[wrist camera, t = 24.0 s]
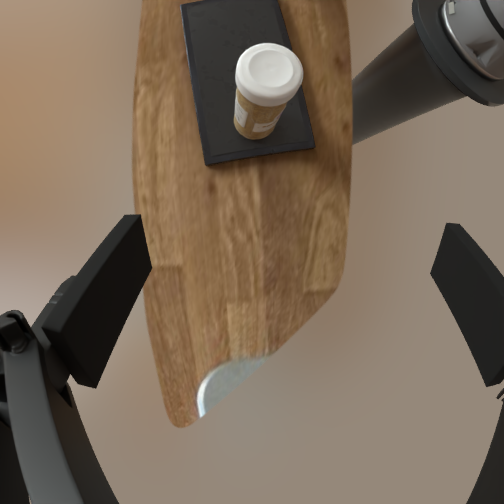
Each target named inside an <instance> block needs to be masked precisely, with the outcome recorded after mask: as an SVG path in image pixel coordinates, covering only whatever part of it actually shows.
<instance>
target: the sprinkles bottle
mask: <svg viewBox="0 0 504 504" xmlns="http://www.w3.org/2000/svg"><path fill="white" fill-rule="evenodd" d="M235 80H236V85H237V89H236V99H235V115H234V124H235V127H236V129H237V131H238V132H239V133H240V134H241V135H243V136H244V137H246V138H248V139H254V140H255V139H262V138H265V137H267V136H268V135H269V134H270V133H271V132H272V131H273V130H274V128H275V125H276V123H277V121H278V120H279V118H280V116H281V114H282V112H283V110H284V109H285V107H286V104H287V102H288V101H289V100H290V99H291V98H292V97H293V96H294V95H295V94H296V92H297V91H298V89H299V87H300V85H301V83H302V80H303V68H302V64H301V62H300V60H299V59H298V57H297V56H296V55H295V54H294V53H293V52H292V51H290V50H289V49H287V48H286V47H284V46H281V45H278V44H272V43H263V44H258V45H255V46H252V47H250V48H249V49H247V50H246V51H245V52H244V53H243V54H242V55H241V56H240V58H239V60H238V63H237V66H236V74H235Z"/></svg>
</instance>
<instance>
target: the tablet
mask: <svg viewBox="0 0 504 504" xmlns="http://www.w3.org/2000/svg"><path fill="white" fill-rule="evenodd" d="M180 8H181V16H182V23H183V30H184V37H185V44H186V51H187V58H188V64H189V71H190V77H191V84H192V90H193V96H194V102H195V108H196V114H197V120H198V126H199V132H200V138H201V144H202V150H203V155H204V161H205V165H206V166H209V165H214V164H220V163H225V162H230V161H236V160H241V159H247V158H253V157H259V156H265V155H272V154H279V153H285V152H292V151H300V150H308V149H314V148H315V143H314V138H313V133H312V128H311V124H310V119H309V115H308V110H307V106H306V102H305V98H304V93H303V89H302V85H300V87H299V89H298V91H297V92H296V94H295V95H294V96H293V97H292V98H291V99H290V100H289V101H288V102H287V104H286V107H285V109H284V110H283V112H282V114H281V116H280V118H279V120H278V121H277V123H276V125H275V128H274V130H273V131H272V132H271V133H270V134H269V135H268V136H267V137H265V138H262V139H255V140H254V139H248V138H246V137H244V136H243V135H241V134H240V133H239V132H238V131H237V129H236V127H235V124H234V115H235V99H236V89H237V85H236V80H235V74H236V66H237V63H238V60H239V58H240V56H241V55H242V54H243V53H244V52H245V51H246V50H247V49H249V48H250V47H252V46H255V45H258V44H263V43H272V44H278V45H281V46H284V47H286V48H287V49H289V50H290V51H292V47H291V44H290V40H289V37H288V33H287V30H286V27H285V23H284V20H283V17H282V13H281V10H280V7H279V4H278V1H277V0H203V1H197V2H192V3H187V4H182V5H180ZM292 52H293V51H292Z"/></svg>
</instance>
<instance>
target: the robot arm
mask: <svg viewBox="0 0 504 504" xmlns="http://www.w3.org/2000/svg"><path fill="white" fill-rule="evenodd" d="M439 19H440V23H441V26H442V29H443V31H444V33H445V35H446V37H447V39H448V41H449V42H450V44H451V45H452V47H453V48H454V50H455V51H456V53H457V54H458V55H459V56H460V58H461V59H462V60H463V61H464V62H465V63H466V64H467V65H468V66H469V67H470V68H471V69H472V70H473V71H474V72H475V73H477V74H478V75H479V76H481V77H483V78H485V79H487V80H490V81H498V80H501V79H504V0H446V1H445V2H444V3H442V5H441V6H440V8H439ZM151 270H152V265H151V261H150V256H149V252H148V247H147V243H146V238H145V233H144V228H143V223H142V218H141V214H140V215H124V216H123V218H122V219H121V220H120V221H119V222H118V224H117V225H116V226H115V227H114V228H113V230H112V231H111V232H110V233H109V234H108V236H107V237H106V238H105V239H104V240H103V242H102V243H101V244H100V245H99V247H98V248H97V249H96V251H95V252H94V253H93V254H92V256H91V257H90V258H89V260H88V261H87V262H86V263H85V265H84V266H83V268H82V269H81V270H80V272H79V273H78V274H77V275H76V276H71V277H70V278H68V279H67V280H66V281H64V282H63V283H62V284H61V285H60V287H59V288H58V290H57V291H56V292H55V295H53V296H52V298H51V299H50V301H49V303H47V305H46V306H45V308H44V309H43V310H42V312H41V313H40V315H39V316H38V318H37V319H36V321H35V322H34V324H33V325H32V327H30V326H29V324H28V322H27V320H26V318H25V317H24V315H23V313H21V312H20V311H18V310H11V311H8V312H6V313H4V314H2V315H1V316H0V504H30V502H29V497H30V500H31V503H32V504H119V503H118V501H117V499H116V497H115V495H114V493H113V491H112V489H111V487H110V485H109V484H108V481H107V480H106V477H105V475H104V473H103V471H102V469H101V467H100V464H99V462H98V460H97V458H96V456H95V453H94V451H93V449H92V446H91V444H90V441H89V439H88V436H87V434H86V431H85V429H84V426H83V423H82V421H81V418H80V415H79V412H78V409H77V406H76V403H75V401H74V397H73V394H72V391H71V388H70V386H69V384H68V383H67V380H68V378H69V376H70V374H71V375H72V377H73V378H74V379H75V381H76V382H77V383H78V384H80V385H84V386H87V387H92V388H97V385H98V383H99V381H100V378H101V376H102V373H103V371H104V369H105V367H106V364H107V362H108V360H109V357H110V355H111V353H112V351H113V348H114V346H115V344H116V342H117V339H118V337H119V335H120V333H121V331H122V329H123V326H124V324H125V322H126V320H127V318H128V316H129V314H130V312H131V310H132V308H133V305H134V303H135V301H136V299H137V297H138V295H139V293H140V291H141V289H142V287H143V285H144V283H145V281H146V279H147V277H148V275H149V273H150V272H151ZM430 274H431V276H432V278H433V279H434V281H435V283H436V284H437V286H438V288H439V290H440V292H441V293H442V295H443V297H444V299H445V301H446V303H447V304H448V306H449V308H450V310H451V312H452V314H453V316H454V318H455V320H456V322H457V324H458V326H459V328H460V330H461V332H462V334H463V336H464V338H465V340H466V342H467V344H468V346H469V348H470V350H471V353H472V355H473V357H474V359H475V361H476V364H477V366H478V368H479V370H480V373H481V375H482V378H483V380H484V383H485V385H486V387H488V386H493V385H496V384H500V383H501V382H502V381H503V379H504V277H503V275H502V274H501V273H500V271H499V270H498V269H497V268H496V266H495V265H494V264H493V263H492V261H491V260H490V259H489V258H488V256H487V255H486V254H485V253H484V252H483V250H482V249H481V248H480V247H479V246H478V244H477V243H476V242H475V241H474V240H473V239H472V237H471V236H470V235H469V234H468V233H467V232H466V231H465V230H464V228H463V227H462V226H461V225H460V224H454V223H446V226H445V229H444V233H443V236H442V239H441V243H440V246H439V249H438V252H437V255H436V258H435V261H434V264H433V267H432V270H431V273H430ZM503 394H504V388H503V390H502V391H501V392H500V393H499V394H498V396H497V399H499V398H500V397H501V396H502V395H503ZM502 401H503V405H502V409H501V413H500V417H499V420H498V423H497V427H496V430H495V433H494V436H493V440H492V442H491V445H490V448H489V451H488V454H487V457H486V460H485V462H484V465H483V467H482V470H481V472H480V475H479V477H478V479H477V482H476V484H475V486H474V489H473V491H472V493H471V495H470V497H469V499H468V501H467V503H466V504H504V398H503V399H502Z"/></svg>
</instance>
